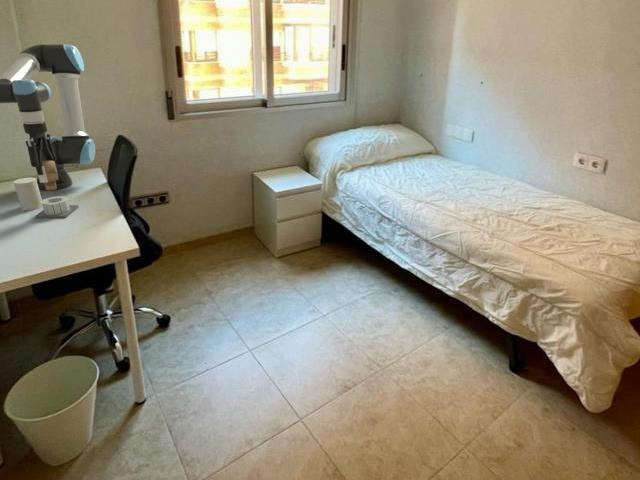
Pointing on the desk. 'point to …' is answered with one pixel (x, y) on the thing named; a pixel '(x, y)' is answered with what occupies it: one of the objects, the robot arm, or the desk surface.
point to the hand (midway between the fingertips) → (48, 179)
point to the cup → (28, 193)
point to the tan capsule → (50, 174)
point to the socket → (56, 208)
